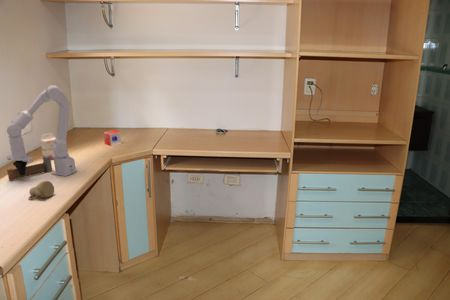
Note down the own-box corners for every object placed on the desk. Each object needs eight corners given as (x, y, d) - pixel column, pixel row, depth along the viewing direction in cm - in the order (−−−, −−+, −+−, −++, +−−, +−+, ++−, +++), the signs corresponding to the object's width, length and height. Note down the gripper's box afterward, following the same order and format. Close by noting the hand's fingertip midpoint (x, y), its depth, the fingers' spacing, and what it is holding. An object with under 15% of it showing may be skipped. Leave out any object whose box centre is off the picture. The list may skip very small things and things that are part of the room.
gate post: (52, 170, 189) (50, 156, 187) (48, 172, 186) (46, 158, 184) (48, 170, 190) (46, 156, 188) (44, 171, 187) (42, 157, 185)
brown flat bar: (47, 171, 186) (45, 162, 185) (9, 180, 175) (7, 170, 173) (46, 171, 187) (44, 161, 186) (9, 179, 176) (7, 169, 174)
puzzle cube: (115, 141, 243) (114, 130, 241) (121, 143, 238) (120, 132, 236) (104, 144, 238) (103, 132, 235) (110, 146, 232) (109, 134, 230)
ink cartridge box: (47, 161, 204) (43, 136, 200) (43, 159, 207) (38, 134, 203) (61, 157, 210) (58, 133, 206) (57, 156, 213) (54, 131, 209)
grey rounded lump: (35, 193, 162) (44, 174, 160) (51, 204, 160) (60, 185, 158) (21, 195, 155) (31, 175, 153) (38, 208, 153) (48, 188, 151)
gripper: (-1, 149, 172) (4, 176, 176) (21, 152, 167) (26, 179, 171) (12, 145, 178) (17, 171, 182) (34, 147, 173) (39, 174, 177)
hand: (22, 175), depth 177 cm, fingers closed
